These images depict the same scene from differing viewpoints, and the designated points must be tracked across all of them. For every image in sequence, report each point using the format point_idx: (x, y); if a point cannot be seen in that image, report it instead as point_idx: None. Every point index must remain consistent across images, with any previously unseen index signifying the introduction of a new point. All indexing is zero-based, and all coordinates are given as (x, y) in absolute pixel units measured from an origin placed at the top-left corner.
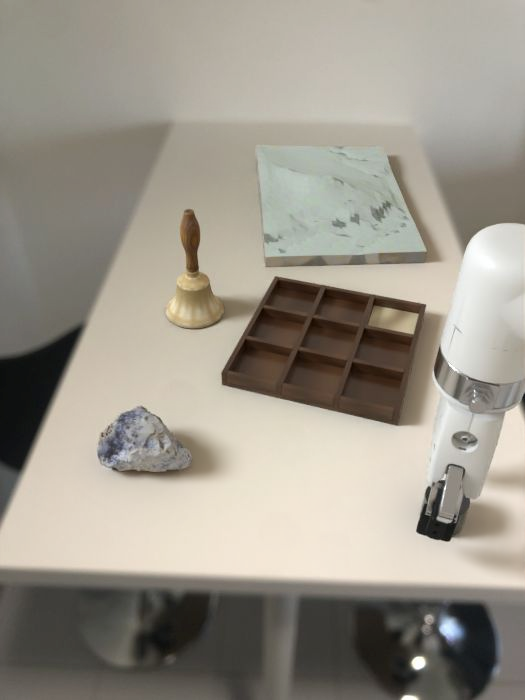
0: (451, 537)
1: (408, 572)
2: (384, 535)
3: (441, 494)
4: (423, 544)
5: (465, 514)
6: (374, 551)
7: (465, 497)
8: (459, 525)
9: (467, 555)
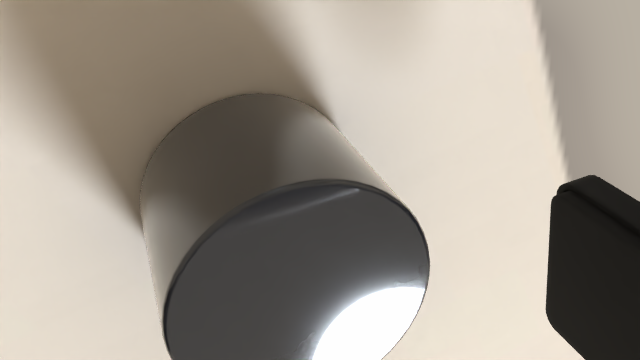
0: (620, 190)
1: (541, 183)
2: (425, 313)
3: (305, 337)
4: (410, 194)
5: (337, 163)
6: (495, 303)
7: (251, 230)
8: (331, 134)
9: (392, 13)
